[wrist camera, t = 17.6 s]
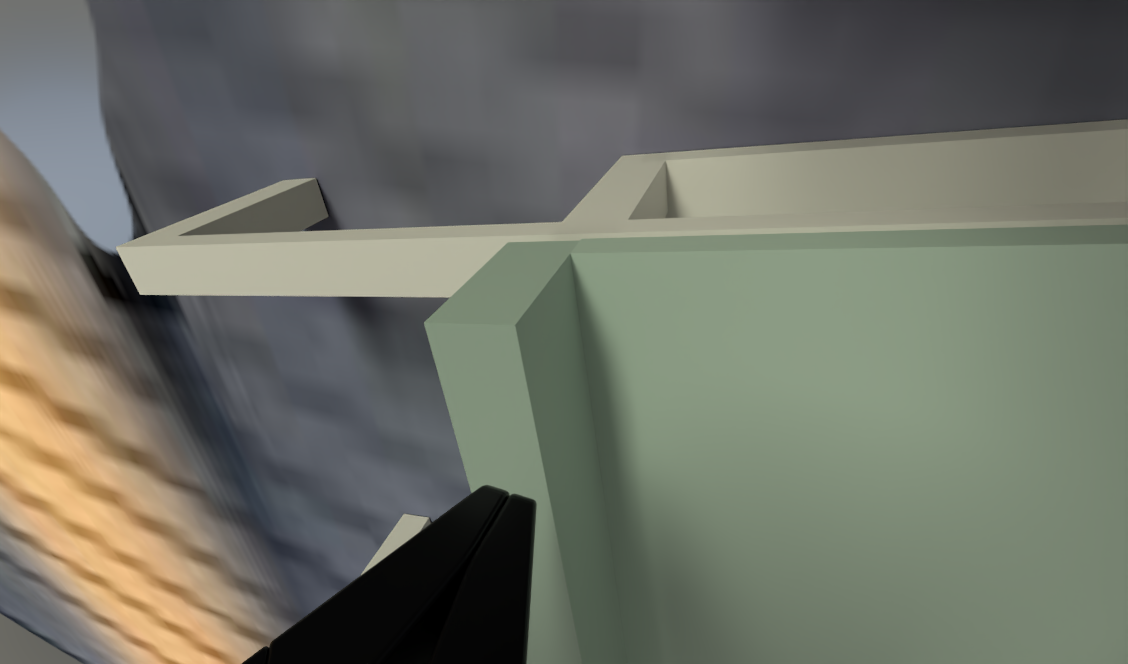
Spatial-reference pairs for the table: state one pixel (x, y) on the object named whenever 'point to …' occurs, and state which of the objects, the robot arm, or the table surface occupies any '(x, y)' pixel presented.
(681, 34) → the table surface
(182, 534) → the table surface
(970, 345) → the sliding lid
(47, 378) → the table surface
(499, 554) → the robot arm
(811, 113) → the table surface
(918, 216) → the housing
